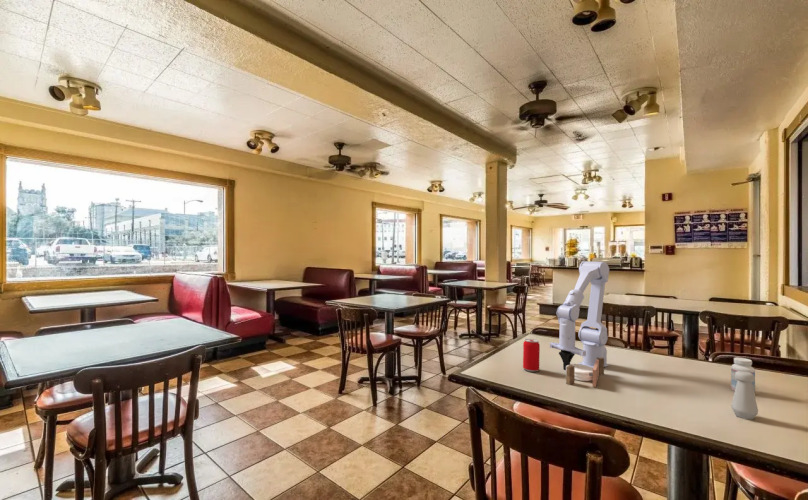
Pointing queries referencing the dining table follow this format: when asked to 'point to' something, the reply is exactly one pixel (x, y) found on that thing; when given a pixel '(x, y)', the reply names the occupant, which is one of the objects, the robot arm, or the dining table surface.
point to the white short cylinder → (582, 372)
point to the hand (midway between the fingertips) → (566, 369)
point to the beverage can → (531, 355)
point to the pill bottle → (741, 365)
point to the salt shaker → (744, 396)
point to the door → (595, 373)
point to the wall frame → (571, 371)
